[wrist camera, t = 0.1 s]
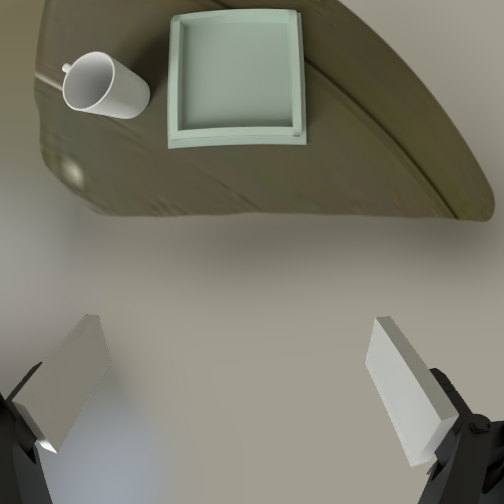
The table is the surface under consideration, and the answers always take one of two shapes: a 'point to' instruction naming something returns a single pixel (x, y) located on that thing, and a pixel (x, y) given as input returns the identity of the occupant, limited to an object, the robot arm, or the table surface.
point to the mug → (104, 87)
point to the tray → (236, 78)
